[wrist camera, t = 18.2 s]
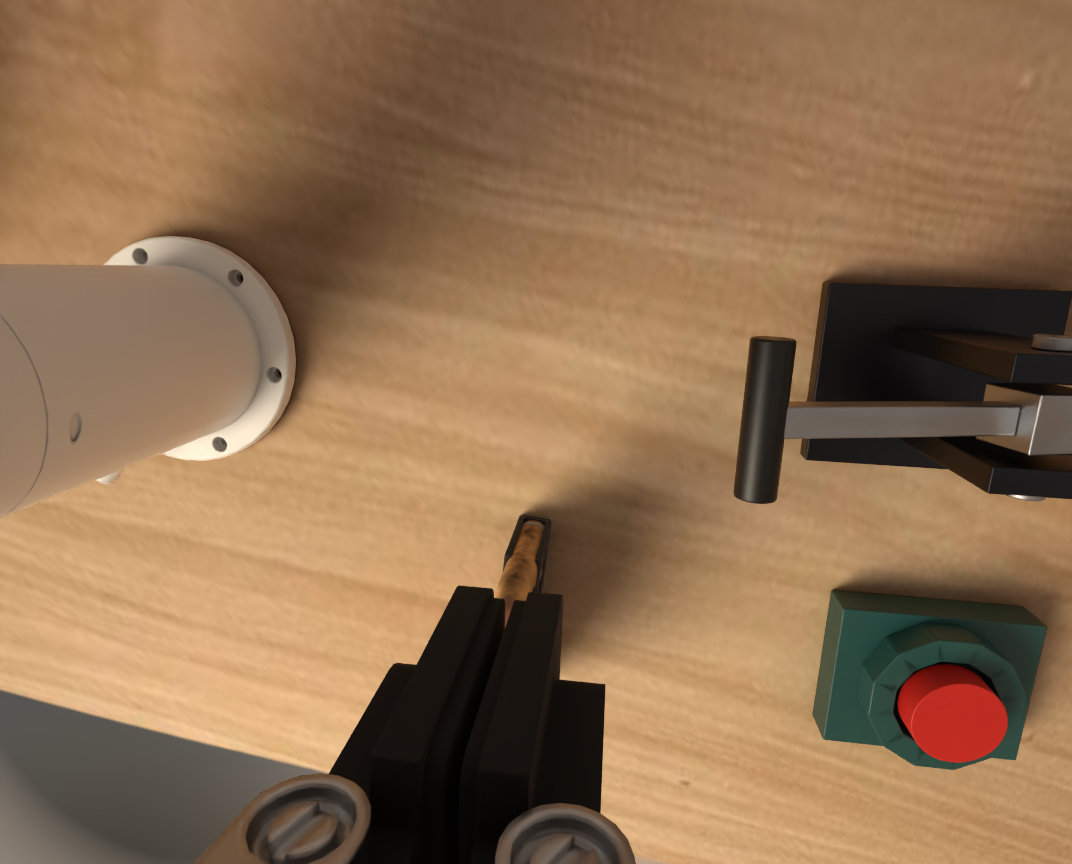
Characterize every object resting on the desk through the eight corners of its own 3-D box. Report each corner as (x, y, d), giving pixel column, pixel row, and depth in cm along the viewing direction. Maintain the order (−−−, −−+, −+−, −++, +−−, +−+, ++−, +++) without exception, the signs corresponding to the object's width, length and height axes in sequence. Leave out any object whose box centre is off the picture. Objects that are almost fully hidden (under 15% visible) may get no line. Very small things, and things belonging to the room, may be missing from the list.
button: (890, 734, 36) (904, 757, 34) (904, 659, 34) (919, 679, 33) (980, 743, 35) (998, 768, 33) (997, 667, 34) (1016, 688, 32)
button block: (812, 714, 40) (832, 762, 36) (831, 589, 38) (854, 626, 34) (994, 734, 39) (1035, 785, 35) (1023, 605, 37) (1070, 645, 33)
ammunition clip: (529, 682, 42) (493, 842, 30) (499, 676, 42) (452, 834, 30) (551, 519, 39) (522, 625, 27) (519, 514, 39) (477, 617, 27)
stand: (799, 454, 36) (881, 539, 25) (822, 282, 34) (922, 288, 23) (1019, 468, 35) (1211, 564, 24) (1057, 290, 33) (1288, 302, 22)
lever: (720, 487, 25) (752, 510, 22) (736, 334, 23) (772, 342, 21) (1027, 478, 27) (1084, 498, 25) (1057, 339, 26) (1121, 347, 23)
